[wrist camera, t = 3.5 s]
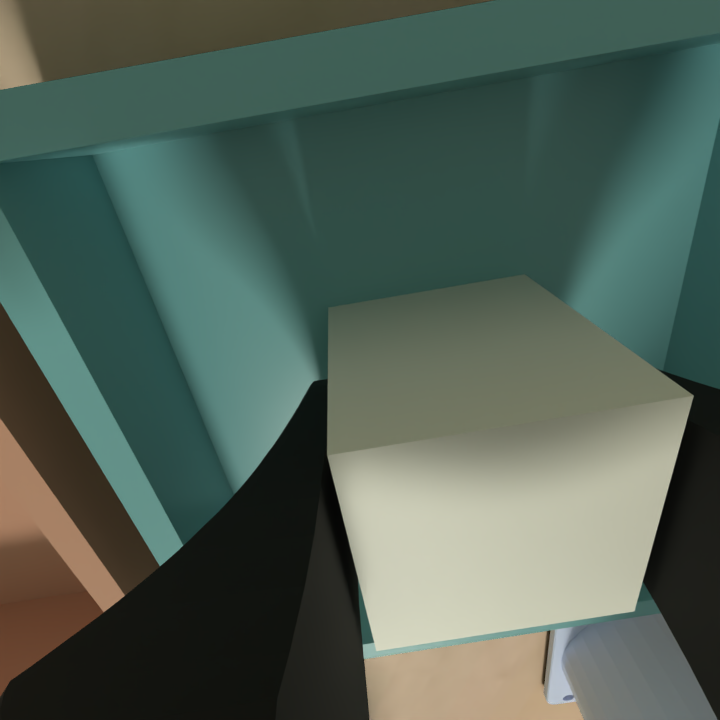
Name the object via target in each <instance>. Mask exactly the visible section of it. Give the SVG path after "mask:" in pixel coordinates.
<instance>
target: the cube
mask: <svg viewBox="0 0 720 720" xmlns="http://www.w3.org/2000/svg"><path fill="white" fill-rule="evenodd" d="M693 397H694V396H693V395H692V394H691V393H689V392H688V391H686V390H685V389H684V388H682V387H681V386H679V385H678V384H677V383H675V382H674V381H673V380H671V379H670V378H668V377H667V376H666V375H664V374H663V373H661V372H660V371H659V370H657V369H656V368H654V367H653V366H652V365H650V364H649V363H647V362H646V361H645V360H643V359H642V358H641V357H639V356H638V355H636V354H635V353H634V352H632V351H631V350H629V349H628V348H627V347H625V346H624V345H622V344H621V343H620V342H618V341H617V340H615V339H614V338H613V337H611V336H610V335H609V334H607V333H606V332H604V331H603V330H602V329H600V328H599V327H597V326H596V325H595V324H593V323H592V322H590V321H589V320H588V319H586V318H585V317H584V316H582V315H581V314H579V313H578V312H577V311H575V310H574V309H572V308H571V307H570V306H568V305H567V304H565V303H564V302H563V301H561V300H560V299H558V298H557V297H556V296H554V295H553V294H552V293H550V292H549V291H547V290H546V289H545V288H543V287H542V286H540V285H539V284H538V283H536V282H535V281H533V280H532V279H531V278H529V277H528V276H526V275H525V274H523V275H517V276H512V277H506V278H500V279H494V280H488V281H482V282H476V283H470V284H464V285H458V286H453V287H447V288H441V289H435V290H429V291H423V292H417V293H411V294H405V295H399V296H394V297H388V298H382V299H376V300H370V301H364V302H358V303H352V304H346V305H340V306H335V307H329V308H328V411H327V457H328V461H329V465H330V469H331V473H332V477H333V481H334V485H335V489H336V493H337V497H338V501H339V505H340V509H341V513H342V517H343V521H344V525H345V529H346V532H347V536H348V540H349V544H350V548H351V552H352V556H353V560H354V564H355V568H356V572H357V576H358V580H359V584H360V588H361V592H362V596H363V600H364V604H365V608H366V612H367V616H368V620H369V624H370V628H371V632H372V636H373V640H374V644H375V648H376V651H381V650H387V649H394V648H400V647H407V646H413V645H420V644H426V643H433V642H439V641H446V640H452V639H459V638H465V637H472V636H478V635H484V634H491V633H497V632H504V631H510V630H517V629H523V628H530V627H536V626H543V625H549V624H556V623H562V622H569V621H575V620H582V619H588V618H595V617H601V616H608V615H614V614H621V613H627V612H633V611H635V607H636V604H637V600H638V597H639V593H640V589H641V586H642V582H643V578H644V575H645V571H646V567H647V564H648V560H649V557H650V553H651V549H652V546H653V542H654V538H655V535H656V531H657V527H658V524H659V520H660V517H661V513H662V509H663V506H664V502H665V498H666V495H667V491H668V487H669V484H670V480H671V477H672V473H673V469H674V466H675V462H676V458H677V455H678V451H679V448H680V444H681V440H682V437H683V433H684V429H685V426H686V422H687V418H688V415H689V411H690V408H691V404H692V400H693Z"/></svg>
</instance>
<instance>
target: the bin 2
mask: <svg viewBox="0 0 720 720" xmlns="http://www.w3.org/2000/svg"><path fill="white" fill-rule="evenodd" d="M523 274H525V275H526V276H528V277H529V278H531V279H532V280H533V281H535V282H536V283H538V284H539V285H540V286H542V287H543V288H545V289H546V290H547V291H549V292H550V293H552V294H553V295H554V296H556V297H557V298H558V299H560V300H561V301H563V302H564V303H565V304H567V305H568V306H570V307H571V308H572V309H574V310H575V311H577V312H578V313H579V314H581V315H582V316H584V317H585V318H586V319H588V320H589V321H590V322H592V323H593V324H595V325H596V326H597V327H599V328H600V329H602V330H603V331H604V332H606V333H607V334H609V335H610V336H611V337H613V338H614V339H615V340H617V341H618V342H620V343H621V344H622V345H624V346H625V347H627V348H628V349H629V350H631V351H632V352H634V353H635V354H636V355H638V356H639V357H641V358H642V359H643V360H645V361H646V362H647V363H649V364H650V365H652V366H653V367H654V368H656V369H659V370H662V371H665V372H668V373H671V374H674V375H677V376H680V377H683V378H686V379H689V380H692V381H695V382H698V383H701V384H705V385H708V386H711V387H714V388H718V389H720V0H494V1H489V2H483V3H478V4H472V5H466V6H461V7H455V8H450V9H444V10H439V11H433V12H428V13H422V14H417V15H411V16H406V17H400V18H395V19H389V20H384V21H378V22H373V23H367V24H362V25H356V26H351V27H345V28H340V29H334V30H329V31H323V32H318V33H312V34H307V35H301V36H296V37H290V38H284V39H279V40H273V41H268V42H262V43H257V44H251V45H246V46H240V47H235V48H229V49H224V50H218V51H213V52H207V53H202V54H196V55H191V56H185V57H180V58H174V59H169V60H163V61H158V62H152V63H147V64H141V65H136V66H130V67H125V68H119V69H114V70H108V71H102V72H97V73H91V74H86V75H80V76H75V77H69V78H64V79H58V80H53V81H47V82H42V83H36V84H31V85H25V86H20V87H14V88H9V89H3V90H0V302H1V304H2V306H3V307H4V309H5V311H6V312H7V314H8V316H9V317H10V319H11V321H12V322H13V324H14V325H15V327H16V329H17V330H18V332H19V334H20V335H21V337H22V339H23V340H24V342H25V344H26V345H27V347H28V349H29V350H30V352H31V354H32V355H33V357H34V359H35V360H36V362H37V364H38V365H39V367H40V369H41V370H42V372H43V373H44V375H45V377H46V378H47V380H48V382H49V383H50V385H51V387H52V388H53V390H54V392H55V393H56V395H57V397H58V398H59V400H60V402H61V403H62V405H63V407H64V408H65V410H66V412H67V413H68V415H69V417H70V418H71V420H72V422H73V423H74V425H75V426H76V428H77V430H78V431H79V433H80V435H81V436H82V438H83V440H84V441H85V443H86V445H87V446H88V448H89V450H90V451H91V453H92V455H93V456H94V458H95V460H96V461H97V463H98V465H99V466H100V468H101V470H102V471H103V473H104V474H105V476H106V478H107V479H108V481H109V483H110V484H111V486H112V488H113V489H114V491H115V493H116V494H117V496H118V498H119V499H120V501H121V503H122V504H123V506H124V508H125V509H126V511H127V513H128V514H129V516H130V518H131V519H132V521H133V523H134V524H135V526H136V527H137V529H138V531H139V532H140V534H141V536H142V537H143V539H144V541H145V542H146V544H147V546H148V547H149V549H150V551H151V552H152V554H153V556H154V557H155V559H156V561H157V562H158V564H159V566H161V565H162V564H163V563H164V562H166V561H167V560H168V559H169V558H170V557H171V556H173V555H174V554H175V553H176V552H177V551H178V550H179V549H180V548H181V547H182V546H183V545H184V544H185V543H186V542H188V541H189V540H190V539H191V538H192V537H193V536H194V535H195V534H196V533H197V532H198V531H199V530H200V529H201V528H202V527H203V526H204V525H205V524H206V523H207V522H208V521H209V520H210V519H211V518H212V517H213V516H214V515H216V514H217V513H218V512H219V511H220V509H221V508H222V507H223V506H224V505H225V504H226V503H227V502H228V501H229V500H230V499H231V498H232V497H233V495H234V494H235V493H236V492H237V491H238V490H239V489H240V488H241V486H242V485H243V484H244V483H245V482H246V480H247V479H248V478H249V477H250V476H251V474H252V473H253V472H254V471H255V469H256V468H257V467H258V465H259V464H260V463H261V461H262V460H263V458H264V457H265V456H266V454H267V453H268V452H269V450H270V449H271V448H272V446H273V445H274V444H275V442H276V441H277V439H278V438H279V436H280V435H281V433H282V432H283V430H284V428H285V427H286V425H287V424H288V422H289V421H290V419H291V418H292V416H293V414H294V413H295V411H296V409H297V408H298V406H299V404H300V403H301V401H302V399H303V397H304V395H305V394H306V392H307V390H308V388H309V387H310V385H311V384H312V383H313V381H317V380H323V379H328V308H329V307H335V306H340V305H346V304H352V303H358V302H364V301H370V300H376V299H382V298H388V297H394V296H399V295H405V294H411V293H417V292H423V291H429V290H435V289H441V288H447V287H453V286H458V285H464V284H470V283H476V282H482V281H488V280H494V279H500V278H506V277H512V276H517V275H523ZM358 588H359V608H360V620H361V631H362V643H363V655H364V659H368V658H374V657H381V656H387V655H394V654H400V653H407V652H413V651H420V650H426V649H433V648H439V647H446V646H452V645H459V644H465V643H472V642H478V641H485V640H491V639H498V638H504V637H510V636H517V635H523V634H530V633H536V632H543V631H549V630H556V629H562V628H569V627H575V626H582V625H588V624H595V623H601V622H608V621H614V620H621V619H627V618H634V617H640V616H647V615H653V614H660V613H661V612H660V610H659V609H658V607H657V605H656V603H655V602H654V600H653V598H652V597H651V595H650V593H649V591H648V590H647V588H646V586H645V584H644V583H643V582H642V586H641V589H640V593H639V597H638V600H637V604H636V607H635V611H633V612H627V613H621V614H614V615H608V616H601V617H595V618H588V619H582V620H575V621H569V622H562V623H556V624H549V625H543V626H536V627H530V628H523V629H517V630H510V631H504V632H497V633H491V634H484V635H478V636H472V637H465V638H459V639H452V640H446V641H439V642H433V643H426V644H420V645H413V646H407V647H400V648H394V649H387V650H381V651H376V648H375V644H374V640H373V636H372V632H371V628H370V624H369V620H368V616H367V612H366V608H365V604H364V600H363V596H362V592H361V588H360V584H359V580H358Z"/></svg>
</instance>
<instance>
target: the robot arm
mask: <svg viewBox="0 0 720 720" xmlns="http://www.w3.org/2000/svg"><path fill="white" fill-rule="evenodd" d="M657 370H659V369H657ZM659 371H660V372H661V373H663V374H664V375H666V376H667V377H668V378H670V379H671V380H673V381H674V382H675V383H677V384H678V385H679V386H681V387H682V388H684V389H685V390H686V391H688V392H689V393H691V394H692V395H693V396H694V397H693V400H692V404H691V408H690V411H689V415H688V418H687V422H686V426H685V429H684V433H683V437H682V440H681V444H680V448H679V451H678V455H677V458H676V462H675V466H674V469H673V473H672V477H671V480H670V484H669V487H668V491H667V495H666V498H665V502H664V506H663V509H662V513H661V517H660V520H659V524H658V527H657V531H656V535H655V538H654V542H653V546H652V549H651V553H650V557H649V560H648V564H647V567H646V571H645V575H644V578H643V583H644V584H645V586H646V588H647V590H648V591H649V593H650V595H651V597H652V598H653V600H654V602H655V603H656V605H657V607H658V609H659V610H660V612H661V613H660V614H653V615H647V616H640V617H634V618H627V619H621V620H614V621H608V622H601V623H595V624H588V625H582V626H575V627H569V628H562V629H556V630H551V631H550V640H549V649H548V658H547V666H546V675H545V684H544V695H545V698H546V700H547V702H548V703H550V704H561V703H568V702H575V701H576V703H577V705H578V707H579V709H580V712H581V714H582V716H583V719H584V720H720V389H718V388H714V387H711V386H708V385H705V384H701V383H698V382H695V381H692V380H689V379H686V378H683V377H680V376H677V375H674V374H671V373H668V372H665V371H662V370H659ZM327 411H328V379H323V380H317V381H313V383H312V384H311V385H310V387H309V388H308V390H307V392H306V394H305V395H304V397H303V399H302V401H301V403H300V404H299V406H298V408H297V409H296V411H295V413H294V414H293V416H292V418H291V419H290V421H289V422H288V424H287V425H286V427H285V428H284V430H283V432H282V433H281V435H280V436H279V438H278V439H277V441H276V442H275V444H274V445H273V446H272V448H271V449H270V450H269V452H268V453H267V454H266V456H265V457H264V458H263V460H262V461H261V463H260V464H259V465H258V467H257V468H256V469H255V471H254V472H253V473H252V474H251V476H250V477H249V478H248V479H247V480H246V482H245V483H244V484H243V485H242V486H241V488H240V489H239V490H238V491H237V492H236V493H235V494H234V495H233V497H232V498H231V499H230V500H229V501H228V502H227V503H226V504H225V505H224V506H223V507H222V508H221V509H220V511H219V512H218V513H217V514H216V515H214V516H213V517H212V518H211V519H210V520H209V521H208V522H207V523H206V524H205V525H204V526H203V527H202V528H201V529H200V530H199V531H198V532H197V533H196V534H195V535H194V536H193V537H192V538H191V539H190V540H189V541H188V542H186V543H185V544H184V545H183V546H182V547H181V548H180V549H179V550H178V551H177V552H176V553H175V554H174V555H173V556H171V557H170V558H169V559H168V560H167V561H166V562H164V563H163V564H162V565H161V566H160V567H159V568H158V569H156V570H155V571H154V572H153V573H152V574H151V575H149V576H148V577H147V578H146V579H145V580H143V581H142V582H141V583H140V584H138V585H137V586H136V587H135V588H134V589H132V590H131V591H130V592H129V593H127V594H126V595H125V596H124V597H123V598H121V599H120V600H119V601H118V602H116V603H115V604H114V605H113V606H111V607H110V608H109V609H107V610H106V611H105V612H104V613H102V614H101V615H100V616H98V617H97V618H96V619H94V620H93V621H92V622H90V623H89V624H88V625H86V626H85V627H84V628H82V629H81V630H79V631H78V632H77V633H75V634H74V635H73V636H71V637H70V638H69V639H67V640H66V641H65V642H63V643H62V644H60V645H59V646H58V647H56V648H55V649H54V650H52V651H51V652H50V653H48V654H47V655H46V656H44V657H43V658H41V659H40V660H39V661H37V662H36V663H35V664H33V665H32V666H31V667H29V668H28V669H26V670H25V671H23V672H22V673H21V674H19V675H18V676H16V677H15V678H13V679H12V680H11V681H10V682H9V684H8V685H7V687H6V688H5V690H4V692H3V693H2V695H1V696H0V720H369V710H368V699H367V688H366V677H365V666H364V655H363V643H362V631H361V620H360V608H359V588H358V576H357V572H356V568H355V564H354V560H353V556H352V552H351V548H350V544H349V540H348V536H347V532H346V529H345V525H344V521H343V517H342V513H341V509H340V505H339V501H338V497H337V493H336V489H335V485H334V481H333V477H332V473H331V469H330V465H329V461H328V457H327Z"/></svg>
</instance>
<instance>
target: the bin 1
mask: <svg viewBox="0 0 720 720" xmlns="http://www.w3.org/2000/svg"><path fill="white" fill-rule="evenodd" d="M159 567H160V566H159V564H158V562H157V561H156V559H155V557H154V556H153V554H152V552H151V551H150V549H149V547H148V546H147V544H146V542H145V541H144V539H143V537H142V536H141V534H140V532H139V531H138V529H137V527H136V526H135V524H134V523H133V521H132V519H131V518H130V516H129V514H128V513H127V511H126V509H125V508H124V506H123V504H122V503H121V501H120V499H119V498H118V496H117V494H116V493H115V491H114V489H113V488H112V486H111V484H110V483H109V481H108V479H107V478H106V476H105V474H104V473H103V471H102V470H101V468H100V466H99V465H98V463H97V461H96V460H95V458H94V456H93V455H92V453H91V451H90V450H89V448H88V446H87V445H86V443H85V441H84V440H83V438H82V436H81V435H80V433H79V431H78V430H77V428H76V426H75V425H74V423H73V422H72V420H71V418H70V417H69V415H68V413H67V412H66V410H65V408H64V407H63V405H62V403H61V402H60V400H59V398H58V397H57V395H56V393H55V392H54V390H53V388H52V387H51V385H50V383H49V382H48V380H47V378H46V377H45V375H44V373H43V372H42V370H41V369H40V367H39V365H38V364H37V362H36V360H35V359H34V357H33V355H32V354H31V352H30V350H29V349H28V347H27V345H26V344H25V342H24V340H23V339H22V337H21V335H20V334H19V332H18V330H17V329H16V327H15V325H14V324H13V322H12V321H11V319H10V317H9V316H8V314H7V312H6V311H5V309H4V307H3V306H2V304H1V302H0V696H1V695H2V693H3V692H4V690H5V688H6V687H7V685H8V684H9V682H10V681H11V680H12V679H13V678H15V677H16V676H18V675H19V674H21V673H22V672H23V671H25V670H26V669H28V668H29V667H31V666H32V665H33V664H35V663H36V662H37V661H39V660H40V659H41V658H43V657H44V656H46V655H47V654H48V653H50V652H51V651H52V650H54V649H55V648H56V647H58V646H59V645H60V644H62V643H63V642H65V641H66V640H67V639H69V638H70V637H71V636H73V635H74V634H75V633H77V632H78V631H79V630H81V629H82V628H84V627H85V626H86V625H88V624H89V623H90V622H92V621H93V620H94V619H96V618H97V617H98V616H100V615H101V614H102V613H104V612H105V611H106V610H107V609H109V608H110V607H111V606H113V605H114V604H115V603H116V602H118V601H119V600H120V599H121V598H123V597H124V596H125V595H126V594H127V593H129V592H130V591H131V590H132V589H134V588H135V587H136V586H137V585H138V584H140V583H141V582H142V581H143V580H145V579H146V578H147V577H148V576H149V575H151V574H152V573H153V572H154V571H155V570H156V569H158V568H159Z"/></svg>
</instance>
